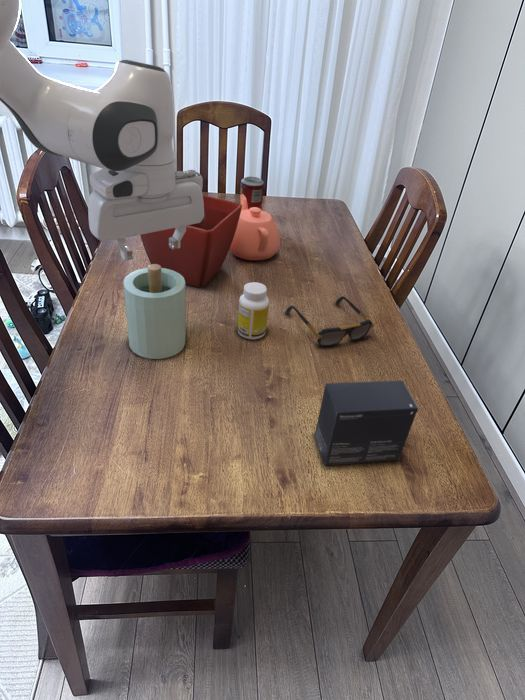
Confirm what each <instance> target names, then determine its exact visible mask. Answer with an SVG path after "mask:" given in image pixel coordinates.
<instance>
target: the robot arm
mask: <svg viewBox="0 0 525 700" xmlns="http://www.w3.org/2000/svg"><path fill="white" fill-rule="evenodd" d="M20 15H21V0H0V102H1V103H2V104H3V105H4V106H5V107H6V108H7V110H9V111H10V113H11V115H13V117H14V119H15V120H16V122H17V123H18V125H19V127H20V128H21V130H22V132H23V134H24V135H25V136H26V138H27V139H28V141H29V142H30V143H31V144H32V145H33V146H34V147H35V148H36V149H38V150H39V151H41V152H43V153H46V154H49V155H55V156H60V157H64V158H67V159H71V160H75V161H77V162H80V163H83V164H86V165H89V166H94V167H96V168H100V169H99V170H97V171H94V172H93V173H91V174H90V175H89V184H90V186H91V187H92V188H93V189H94V190H92V192H91V193H90V195H89V198H88V202H87V203H88V204H87V205H88V206H87V208H88V209H87V213H88V215H87V216H88V217H87V219H88V226H89V230H90V233H91V234H92V235H93V237H95V238H96V239H97V240H98V241H100V242H101V243H106V242H111V241H113V243H114V244H115V245H116V246H117V248H118V249H119V254H120V258H121V259H122V260H123V261H124V262H125V261H130V260H133V259H134V256H133V254H134V253H133V250H132V249H131V248H130V247H129V246H125V245H124V244H126V243H127V242H126V238H132V237H137V236H140V235H141V234H146V233H151V232H156V231H161V230H166V229H171V228H176V230H175V232H174V234H173V237H170V238H169V247H170V248H172V250H174V249H178V248H180V240H181V239H182V237H183V235H184V234H185V232H186V225H191V224H197V223H200V222H201V221H202V219H203V218H204V202H203V195H204V194H203V187H204V178H203V176H202V175H201V173H200V172H198V171H196V170H195V169H188V170H178V171H176V153H175V150H174V144H173V142H174V141H173V139H174V135H175V131H176V129H175V128H176V120H175V119H176V117H175V116H176V115H175V114H176V113H175V100H174V92H173V86H172V81H171V78H170V75H169V73H168V72H167V71H166V70H165V69H164V68H163V67H161V66H157V65H153V64H148V63H144V62H139V61H135V60H131V59H121V60H118V61H117V62H116V63H115V67H114V73H113V74H112V76H111V77H110V78H109V79H108V80H107V81H106V82H105V83H104V84H103V85H102V86H100V87H98V88H96V89H95V90H91V89H87V88H83V87H80V86H75V85H72V84H68V83H65V82H62V81H61V80H57V79H54V78H51V77H48V76H46V75H43V74H42V73H41V72H39V71H38V69H36V68H35V66H34V65H33V64H32V63H31V62H30V61H29V60H28V58H26V56H25V55H24V54H23V53H22V52H21V51H20V49H18V48H17V46H15V44H14V43H13V42H12V41H11V38H12V37H13V35H14V32H15V31H16V29H17V25H18V23H19V20H20Z"/></svg>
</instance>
